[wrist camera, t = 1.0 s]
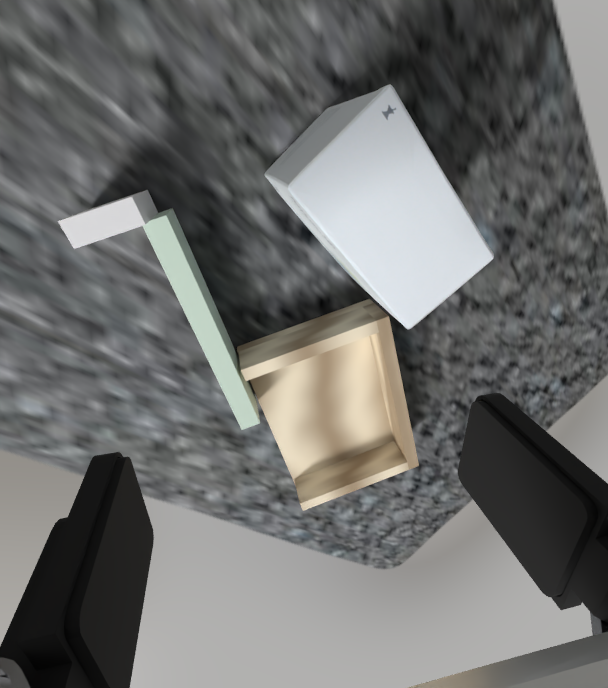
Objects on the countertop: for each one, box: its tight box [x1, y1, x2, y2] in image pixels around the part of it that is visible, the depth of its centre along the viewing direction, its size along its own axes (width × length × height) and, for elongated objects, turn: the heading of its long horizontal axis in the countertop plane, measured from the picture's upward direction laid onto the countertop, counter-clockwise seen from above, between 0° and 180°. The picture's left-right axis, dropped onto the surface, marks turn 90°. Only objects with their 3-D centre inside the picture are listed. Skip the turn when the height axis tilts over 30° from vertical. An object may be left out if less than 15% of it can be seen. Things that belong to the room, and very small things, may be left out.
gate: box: [58, 190, 260, 430], centre depth 26 cm, size 5×18×5 cm, turn 17°
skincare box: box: [265, 84, 494, 329], centre depth 23 cm, size 10×6×10 cm, turn 42°
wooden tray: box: [237, 299, 419, 511], centre depth 33 cm, size 12×16×4 cm
